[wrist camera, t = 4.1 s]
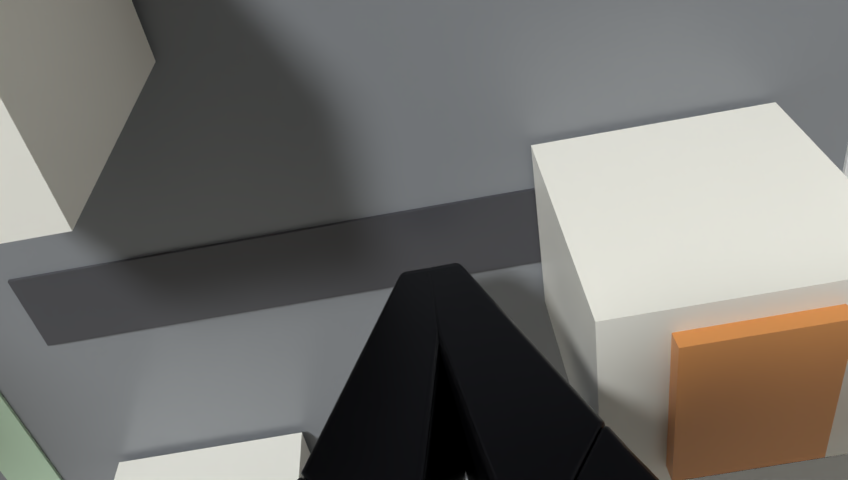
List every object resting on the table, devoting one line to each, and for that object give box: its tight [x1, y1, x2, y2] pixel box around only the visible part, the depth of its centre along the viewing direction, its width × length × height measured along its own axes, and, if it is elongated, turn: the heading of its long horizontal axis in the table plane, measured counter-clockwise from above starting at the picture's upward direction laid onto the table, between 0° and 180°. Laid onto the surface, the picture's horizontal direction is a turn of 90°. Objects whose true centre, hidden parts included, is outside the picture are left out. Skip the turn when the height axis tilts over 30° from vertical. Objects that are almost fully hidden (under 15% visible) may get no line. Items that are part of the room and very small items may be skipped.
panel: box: [0, 0, 848, 480], centre depth 11 cm, size 22×12×1 cm, turn 99°
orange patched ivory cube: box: [531, 102, 848, 480], centre depth 9 cm, size 3×3×3 cm
